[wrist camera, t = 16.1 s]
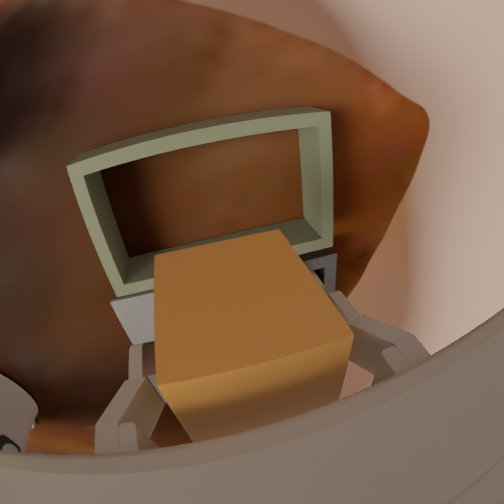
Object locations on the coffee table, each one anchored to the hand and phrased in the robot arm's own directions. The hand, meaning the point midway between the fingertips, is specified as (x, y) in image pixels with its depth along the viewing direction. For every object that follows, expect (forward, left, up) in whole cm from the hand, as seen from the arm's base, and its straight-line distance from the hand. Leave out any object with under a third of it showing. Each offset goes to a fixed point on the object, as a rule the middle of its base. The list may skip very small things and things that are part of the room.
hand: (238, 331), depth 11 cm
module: (0, 0, -3) cm, 2 cm away
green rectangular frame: (0, 0, -15) cm, 15 cm away
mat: (-8, -12, -15) cm, 21 cm away
